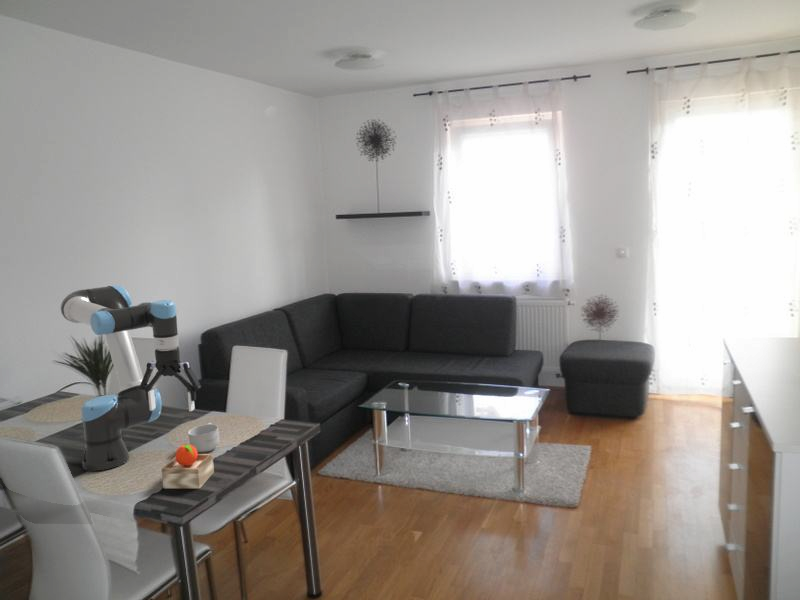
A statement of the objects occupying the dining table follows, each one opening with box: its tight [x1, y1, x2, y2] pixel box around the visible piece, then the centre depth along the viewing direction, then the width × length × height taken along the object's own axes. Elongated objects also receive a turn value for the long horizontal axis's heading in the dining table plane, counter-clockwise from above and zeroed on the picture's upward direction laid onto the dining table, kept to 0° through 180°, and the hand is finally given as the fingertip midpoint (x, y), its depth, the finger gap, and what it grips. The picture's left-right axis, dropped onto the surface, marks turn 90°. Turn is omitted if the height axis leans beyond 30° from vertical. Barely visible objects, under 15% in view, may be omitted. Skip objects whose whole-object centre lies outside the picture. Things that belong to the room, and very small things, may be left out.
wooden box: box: [161, 453, 215, 489], centre depth 206 cm, size 12×12×6 cm
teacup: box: [187, 422, 220, 453], centre depth 233 cm, size 14×11×8 cm
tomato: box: [174, 443, 199, 466], centre depth 205 cm, size 8×7×7 cm
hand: (172, 409), depth 209 cm, fingers open, 13 cm apart
